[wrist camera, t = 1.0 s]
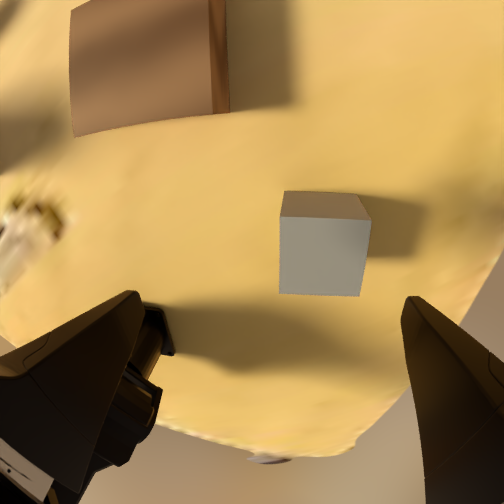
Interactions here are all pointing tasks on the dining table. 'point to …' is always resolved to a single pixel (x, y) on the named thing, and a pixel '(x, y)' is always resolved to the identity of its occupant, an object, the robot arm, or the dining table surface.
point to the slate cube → (322, 243)
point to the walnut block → (146, 62)
